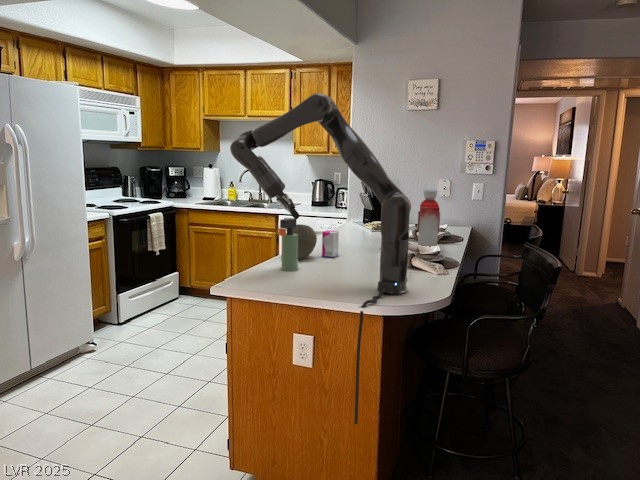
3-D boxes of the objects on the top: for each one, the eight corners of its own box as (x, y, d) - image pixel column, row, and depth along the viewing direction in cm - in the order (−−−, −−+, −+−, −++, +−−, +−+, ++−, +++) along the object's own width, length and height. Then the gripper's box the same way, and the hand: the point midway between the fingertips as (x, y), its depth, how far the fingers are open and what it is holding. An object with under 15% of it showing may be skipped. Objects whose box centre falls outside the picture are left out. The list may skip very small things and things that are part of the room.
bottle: (438, 255, 225) (442, 190, 220) (415, 254, 227) (419, 190, 222) (437, 249, 239) (441, 188, 234) (416, 248, 241) (419, 187, 236)
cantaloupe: (312, 262, 206) (313, 227, 203) (280, 260, 209) (280, 226, 206) (319, 256, 220) (319, 223, 217) (288, 254, 222) (289, 221, 220)
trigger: (283, 236, 187) (283, 229, 187) (278, 235, 189) (278, 228, 188) (285, 235, 188) (285, 229, 188) (280, 235, 190) (280, 228, 189)
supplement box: (338, 255, 221) (339, 231, 219) (333, 258, 215) (334, 232, 213) (326, 254, 223) (327, 229, 221) (321, 257, 218) (322, 231, 216)
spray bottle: (287, 272, 189) (288, 221, 185) (275, 269, 193) (275, 219, 189) (300, 268, 195) (301, 219, 191) (288, 266, 199) (289, 217, 195)
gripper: (283, 177, 174) (310, 213, 180) (272, 174, 186) (299, 209, 192) (267, 190, 172) (295, 226, 179) (257, 187, 184) (285, 221, 191)
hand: (297, 217), depth 185 cm, fingers closed
